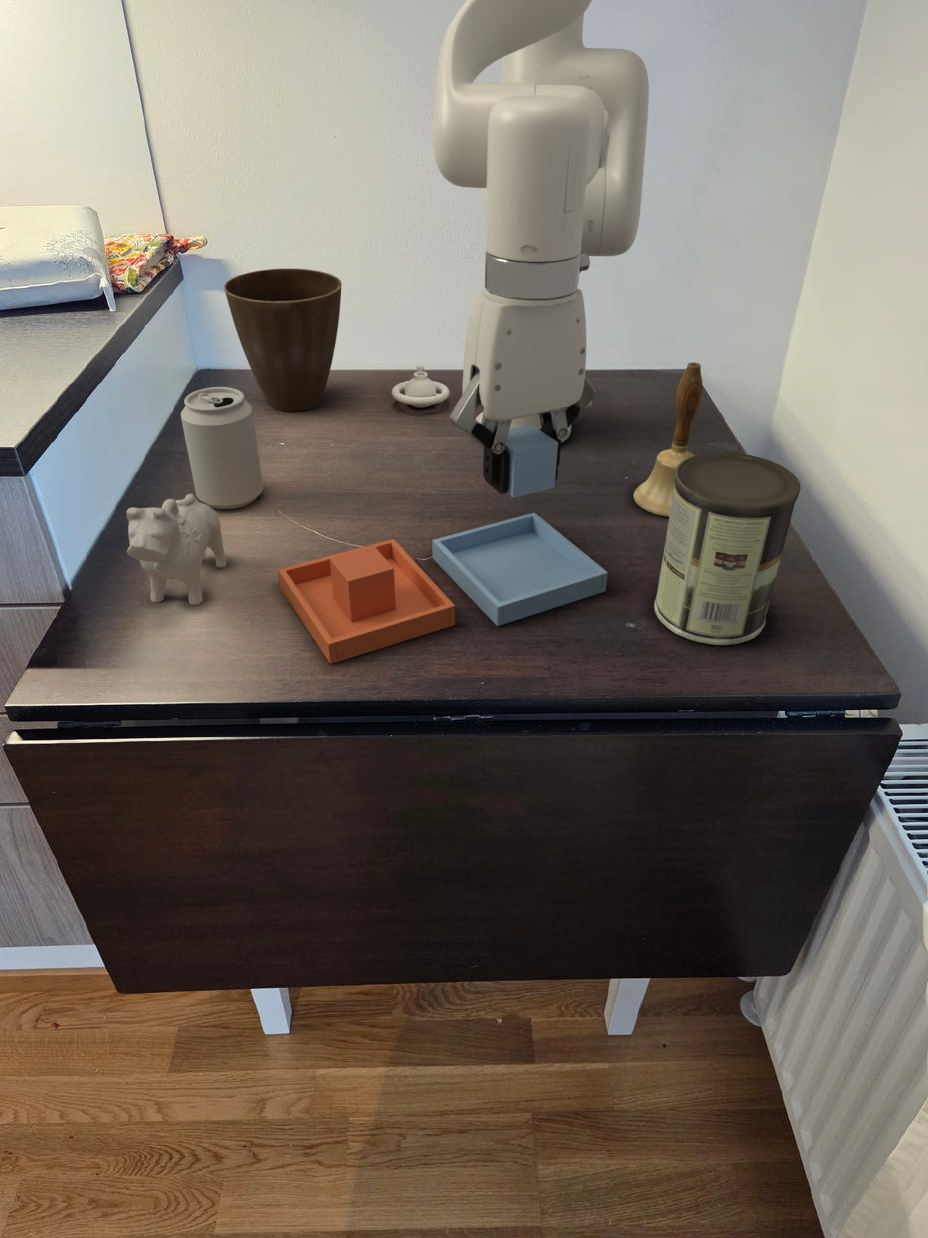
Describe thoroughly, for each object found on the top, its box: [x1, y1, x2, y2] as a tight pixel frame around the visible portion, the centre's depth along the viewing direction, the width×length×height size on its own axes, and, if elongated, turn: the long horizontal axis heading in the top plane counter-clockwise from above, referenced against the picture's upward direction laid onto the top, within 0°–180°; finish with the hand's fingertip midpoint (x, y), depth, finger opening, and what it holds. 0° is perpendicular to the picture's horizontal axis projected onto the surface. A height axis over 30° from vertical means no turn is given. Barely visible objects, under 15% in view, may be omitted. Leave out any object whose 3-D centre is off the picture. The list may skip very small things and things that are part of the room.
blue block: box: [505, 425, 558, 499], centre depth 79 cm, size 4×4×4 cm
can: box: [180, 386, 264, 510], centre depth 96 cm, size 8×8×12 cm
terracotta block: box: [330, 546, 396, 622], centre depth 81 cm, size 4×4×4 cm
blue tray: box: [431, 512, 609, 627], centre depth 86 cm, size 12×13×2 cm
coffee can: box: [653, 451, 801, 646], centre depth 78 cm, size 10×10×14 cm
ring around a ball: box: [391, 364, 451, 408], centre depth 120 cm, size 8×6×8 cm
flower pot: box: [223, 268, 343, 412], centre depth 117 cm, size 15×15×16 cm
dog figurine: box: [126, 493, 227, 606], centre depth 81 cm, size 5×13×11 cm, turn 173°
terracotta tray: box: [277, 538, 456, 665], centre depth 82 cm, size 12×13×2 cm
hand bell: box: [633, 362, 704, 518], centre depth 95 cm, size 8×8×16 cm
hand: (521, 479), depth 80 cm, fingers closed on blue block, 4 cm apart
